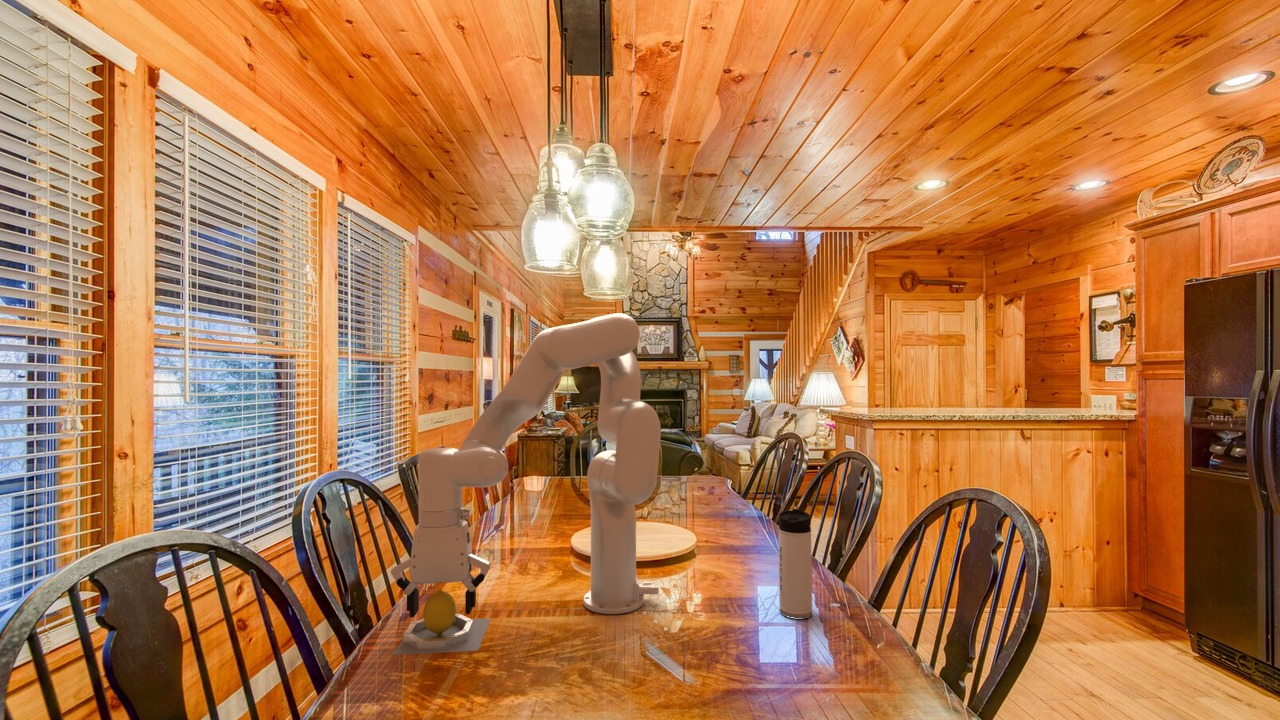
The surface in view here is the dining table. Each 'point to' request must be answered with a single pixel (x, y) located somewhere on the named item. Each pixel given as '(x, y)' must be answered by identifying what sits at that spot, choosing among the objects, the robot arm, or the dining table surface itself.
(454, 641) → the ring
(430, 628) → the lemon
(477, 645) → the board
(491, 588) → the dining table surface
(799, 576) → the travel mug
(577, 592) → the dining table surface
